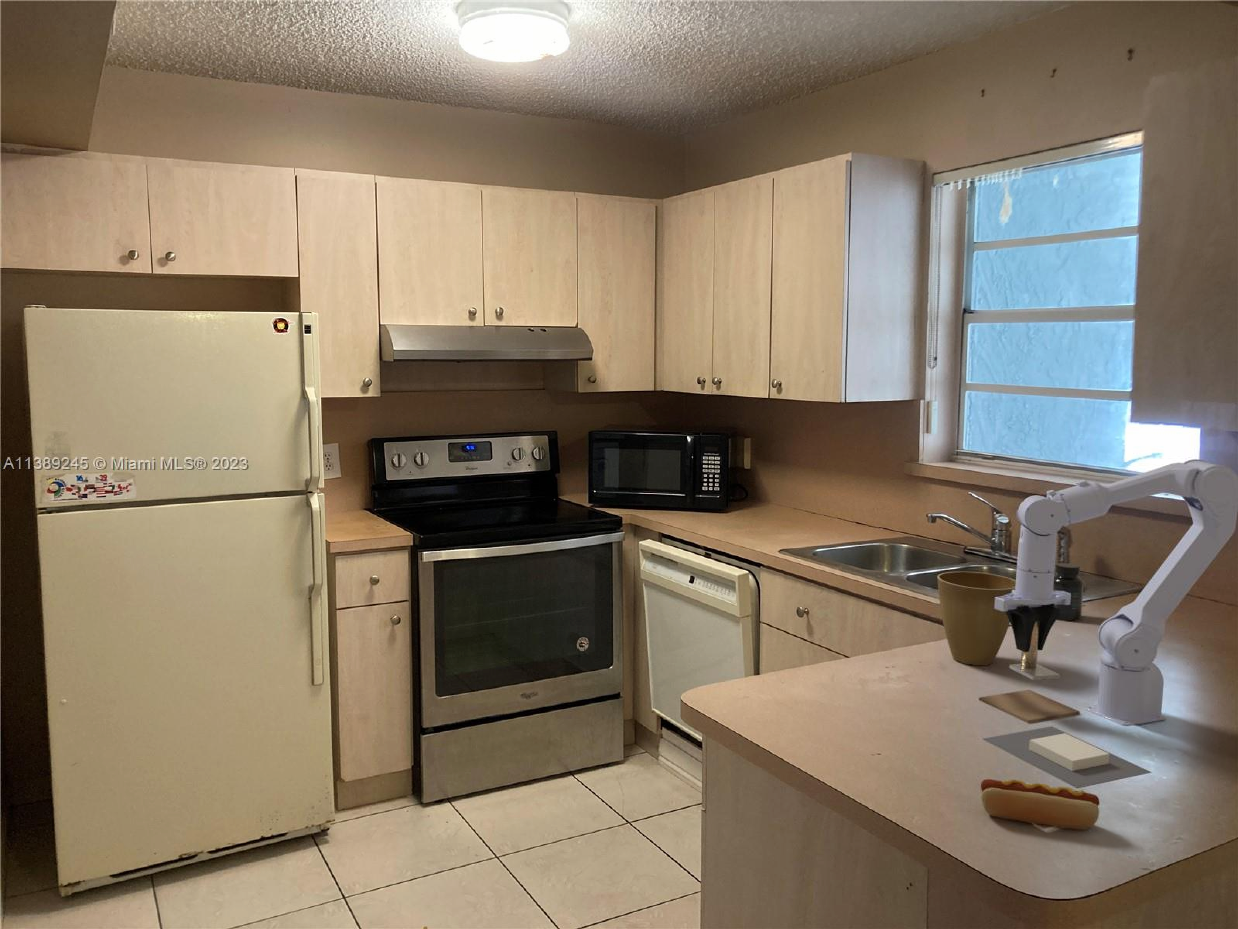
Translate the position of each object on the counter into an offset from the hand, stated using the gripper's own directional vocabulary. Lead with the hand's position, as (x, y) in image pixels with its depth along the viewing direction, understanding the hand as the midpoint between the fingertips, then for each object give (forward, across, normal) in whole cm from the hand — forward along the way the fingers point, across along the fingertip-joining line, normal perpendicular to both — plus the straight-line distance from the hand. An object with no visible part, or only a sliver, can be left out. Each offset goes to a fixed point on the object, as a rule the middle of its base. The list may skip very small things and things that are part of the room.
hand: (1029, 649), depth 161 cm
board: (+10, -1, 0) cm, 10 cm away
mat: (+10, +9, +17) cm, 22 cm away
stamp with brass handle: (+3, 0, +2) cm, 4 cm away
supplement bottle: (+10, -52, -41) cm, 67 cm away
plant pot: (+11, -11, -24) cm, 28 cm away
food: (+11, +28, +30) cm, 42 cm away
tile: (+9, +9, +14) cm, 19 cm away
